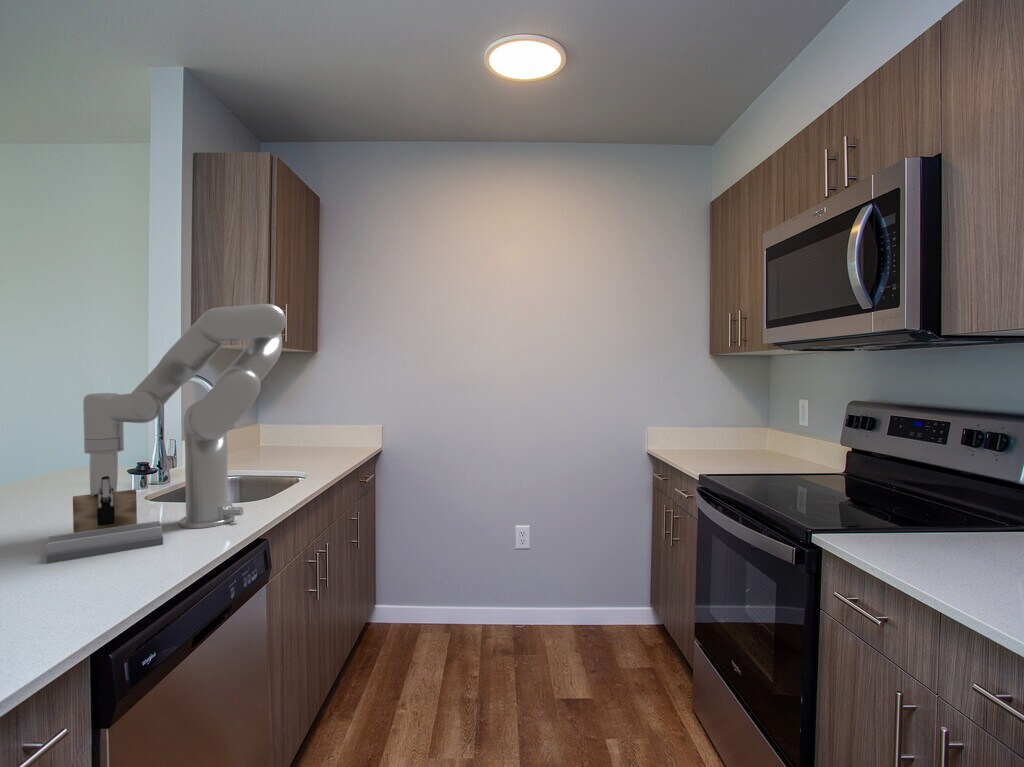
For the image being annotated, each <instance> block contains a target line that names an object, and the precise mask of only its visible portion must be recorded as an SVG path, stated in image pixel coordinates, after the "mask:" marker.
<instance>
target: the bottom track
mask: <svg viewBox="0 0 1024 767" xmlns="http://www.w3.org/2000/svg"><path fill="white" fill-rule="evenodd" d="M160 523H161V522H160V521H159V520H156V521H155V520H154V521H148V522H147V521H146V522H142V523H141V522H140V523H137V524H133V525H126V526H119V527H112V528H105V529H98V530H91V531H84V532H77V533H73V532H71V533H62V534H58V535H57V534H56V535H49V536H48V542H47V545H46V546H47V547H46V548H47V551H46V552H47V553H46V564H51V563H57V562H64V561H69V560H75V559H81V558H82V559H83V558H88V557H93V556H94V557H95V556H101V555H105V554H111V553H119V552H123V551H131V550H136V549H141V548H143V549H144V548H148V547H149V548H150V547H153V546H154V547H156V546H161V545H164V537H163V526H162V525H160Z"/></svg>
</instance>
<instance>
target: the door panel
mask: <svg viewBox="0 0 1024 767" xmlns="http://www.w3.org/2000/svg"><path fill="white" fill-rule="evenodd" d="M102 494H103V493H100V495H102ZM109 494H111V492H109ZM137 502H138V500H137V490H136V489H126V490H118V491H117V490H116V493H115V494H113V506H114V514H115V523H114V524H109V525H102V526H98V522H97V508H99V504H98V494H95V495H94V497H92V496H91V495H90V494H82V495H73V496H72V517H73V518H72V526H73V528H72V530H73V531H72V533H77V532H84V531H91V530H98V529H105V528H112V527H119V526H126V525H133V524H138V512H137V511H138V510H137V508H138V506H137V504H138V503H137ZM101 508H102V507H101Z"/></svg>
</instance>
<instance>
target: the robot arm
mask: <svg viewBox="0 0 1024 767" xmlns="http://www.w3.org/2000/svg"><path fill="white" fill-rule="evenodd" d="M286 325H287V318H286V314H285V312H284V311H283V310H282V309H281V308H280V307H279V306H277V305H275V304H271V303H257V304H248V305H247V304H245V305H235V306H221V307H213V308H210V309H208V310H206V311H205V312H204V313H202V315H200V317H198V318H197V319H196V321H195V322H194V323H193V324H192V325H191V326H190V327H189V328H188V329H187V330H186V331H185V332H184V334H183V335H181V337H179V339H177V341H176V342H175V343H174V344H173V345H172V346H171V347H170V349H168V351H167V352H166V353H165V354H164V355H163V356H162V358H161V359H160V361H159V362H158V363H157V365H156V366H155V367H154V368H153V369H152V370H151V371H150V373H149V374H148V375H147V376H146V377H145V378H144V379H143V380H142V381H141V382H140V383H139V384H138V385H137V387H135V388H134V390H133V391H132V392H130V393H124V394H119V393H117V392H116V393H115V392H103V393H102V392H98V393H89V394H87V395H85V396H84V397H83V403H82V404H83V408H82V409H83V438H84V439H83V444H84V445H83V448H84V449H83V451H84V454H87V455H88V454H89V493H90V495H91V496H92V497H94V495H95V494H98V504H99V508H97V522H98V526H102V525H109V524H114V523H115V514H114V506H113V494H115V493H116V491H117V487H118V476H119V474H118V473H119V468H118V467H119V459H118V456H119V452H122V451H124V450H125V446H124V444H125V440H124V438H125V437H124V436H125V435H124V423H132V424H147V423H150V422H152V421H155V420H156V419H157V418H158V417H159V415H160V413H161V412H162V407H164V405H165V404H166V403H168V401H169V400H170V399H171V397H172V396H173V395H175V393H176V392H178V390H179V389H180V388H182V386H183V385H185V384H186V383H187V382H188V381H190V380H192V379H193V378H194V377H196V376H197V375H198V374H199V372H200V373H201V371H202V370H203V369H204V367H206V365H207V364H208V363H209V362H210V361H211V359H212V358H213V357H215V355H217V354H216V353H218V351H219V350H221V348H222V347H223V346H224V345H225V344H226V343H227V341H238V340H239V341H240V340H248V343H247V345H246V346H245V348H244V349H243V350H242V351H241V352H240V353H239V354H238V355H237V357H236V358H235V359H234V360H233V361H232V362H231V363H230V364H229V365H228V367H227V368H226V369H225V370H223V371H222V372H221V373H220V374H219V375H218V377H217V378H216V381H215V384H214V386H213V387H212V388H211V389H210V390H209V391H208V392H207V394H206V395H205V396H204V397H203V398H202V399H200V400H197V401H195V402H193V403H192V404H191V405H189V406H188V407H187V409H186V411H184V412H185V413H184V416H183V433H184V452H185V454H184V456H185V457H184V458H185V463H184V466H185V469H184V470H185V516H184V517H182V518H180V519H179V521H178V525H179V527H182V528H183V529H204V528H205V529H206V527H207V528H213V526H214V527H218V526H219V527H220V526H223V525H225V524H229V523H231V522H233V521H234V520H235V517H237V516H240V517H241V516H243V515H244V510H245V509H244V508H243V507H242V506H233V501H229V498H228V497H229V495H228V494H229V492H228V491H229V490H228V489H229V484H228V483H229V482H228V479H229V478H228V440H227V433H228V432H229V431H230V430H232V428H233V427H234V426H235V425H236V424H237V422H238V421H239V420H240V419H241V418H242V417H243V415H244V414H245V413H246V412H247V411H248V410H249V408H250V407H251V406H252V405H253V403H254V402H256V400H257V398H258V396H259V395H260V392H261V387H262V386H261V383H262V381H263V380H264V378H265V377H266V376H267V375H268V374H269V373H270V372H271V370H272V368H273V367H274V366H276V363H277V362H278V360H279V358H280V356H281V353H282V349H283V337H282V336H283V335H282V332H283V331H284V329H285V328H286ZM109 492H111V494H109ZM100 493H103V494H102V495H100ZM101 507H102V508H101Z"/></svg>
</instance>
